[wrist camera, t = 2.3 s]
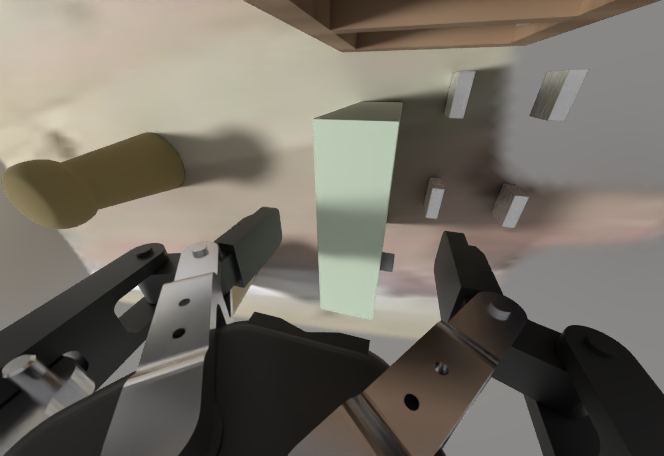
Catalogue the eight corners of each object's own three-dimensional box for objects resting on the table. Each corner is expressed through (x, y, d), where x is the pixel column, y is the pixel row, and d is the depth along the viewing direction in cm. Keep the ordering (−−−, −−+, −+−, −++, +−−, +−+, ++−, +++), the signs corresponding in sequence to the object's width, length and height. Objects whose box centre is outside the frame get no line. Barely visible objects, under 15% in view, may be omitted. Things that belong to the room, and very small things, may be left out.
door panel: (361, 101, 17) (312, 118, 8) (414, 102, 17) (424, 122, 8) (354, 219, 23) (320, 308, 14) (395, 224, 22) (387, 323, 13)
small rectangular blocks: (453, 73, 15) (459, 71, 13) (562, 71, 14) (588, 69, 12) (423, 204, 20) (425, 217, 18) (502, 212, 19) (514, 228, 17)
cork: (189, 156, 24) (57, 200, 15) (179, 198, 27) (67, 255, 18) (136, 119, 23) (-35, 141, 14) (133, 167, 27) (-7, 209, 18)
